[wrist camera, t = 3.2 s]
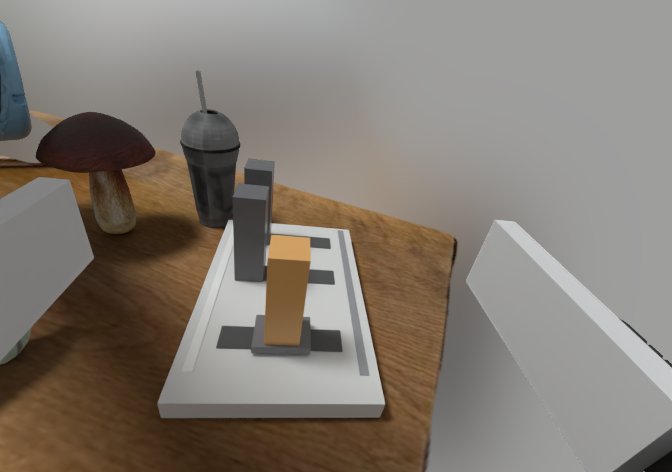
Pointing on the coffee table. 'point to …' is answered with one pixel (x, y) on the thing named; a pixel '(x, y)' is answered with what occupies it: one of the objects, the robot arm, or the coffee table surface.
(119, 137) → the decorative mushroom
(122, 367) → the coffee table surface
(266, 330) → the breaker handle
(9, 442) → the coffee table surface
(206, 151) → the beverage cup
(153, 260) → the coffee table surface
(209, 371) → the slotted peg board
